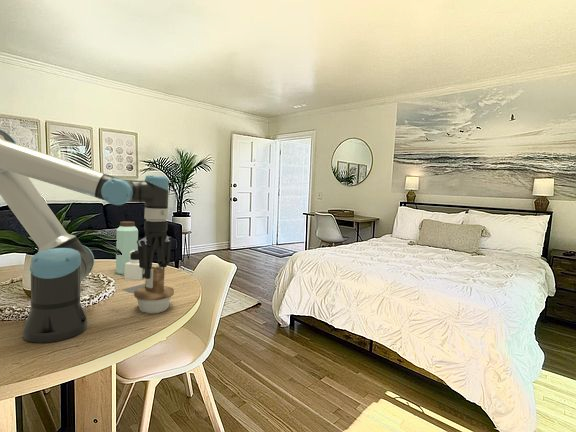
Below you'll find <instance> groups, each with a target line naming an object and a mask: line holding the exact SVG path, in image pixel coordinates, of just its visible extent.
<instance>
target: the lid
mask: <svg viewBox="0 0 576 432" xmlns="http://www.w3.org/2000/svg"><path fill="white" fill-rule="evenodd" d="M151 269H153V288H148V287H146V281H144V282H145V283H144V284H145V287H142V288H139V289H137V290H135V291H134V294H133V297H134V298H136V299H141V300H160V299H165V298H169V297H173V296H174V294H175V289H174V288H173V287H170V286H168V285H167V286H166V285H165V269H161V268H157V267H156V266H152V268H151Z"/></svg>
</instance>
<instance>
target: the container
mask: <svg viewBox="0 0 576 432" xmlns="http://www.w3.org/2000/svg"><path fill="white" fill-rule="evenodd" d="M129 260H130V262H127V263H125V275H124V280H131V281H132V280H134V281H142V280H144V279H146V278H145V269H143V268H140V267H139V249H138V250H134V251H131V252H130V259H129Z"/></svg>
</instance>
